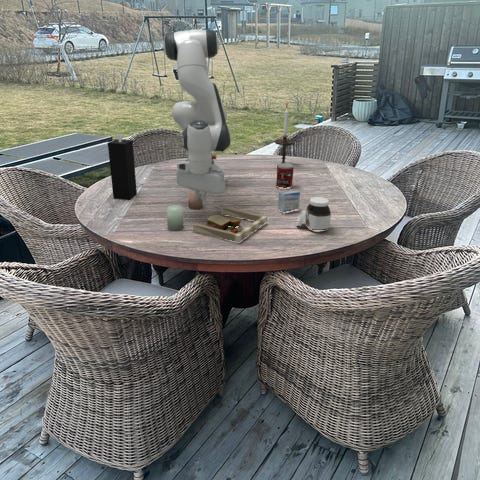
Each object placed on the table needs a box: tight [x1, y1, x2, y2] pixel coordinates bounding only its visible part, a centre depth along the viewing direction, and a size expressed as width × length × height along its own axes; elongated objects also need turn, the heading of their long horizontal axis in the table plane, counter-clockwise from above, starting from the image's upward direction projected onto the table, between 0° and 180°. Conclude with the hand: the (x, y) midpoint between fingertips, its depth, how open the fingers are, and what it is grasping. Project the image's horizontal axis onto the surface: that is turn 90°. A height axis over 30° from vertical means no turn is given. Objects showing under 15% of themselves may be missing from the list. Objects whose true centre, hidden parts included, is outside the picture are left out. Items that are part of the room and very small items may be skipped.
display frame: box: [192, 206, 268, 242], centre depth 169 cm, size 22×20×3 cm
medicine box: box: [277, 189, 301, 212], centre depth 185 cm, size 8×4×9 cm, turn 117°
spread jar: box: [296, 196, 332, 231], centre depth 168 cm, size 12×11×12 cm
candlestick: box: [274, 103, 296, 163], centre depth 243 cm, size 11×11×35 cm
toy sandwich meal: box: [205, 214, 243, 234], centre depth 166 cm, size 12×14×5 cm
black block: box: [107, 133, 138, 201], centre depth 193 cm, size 8×8×28 cm
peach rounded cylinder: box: [188, 189, 204, 211], centre depth 187 cm, size 6×6×7 cm
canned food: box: [275, 162, 294, 188], centre depth 214 cm, size 8×8×11 cm
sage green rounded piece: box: [166, 204, 185, 232], centre depth 167 cm, size 6×6×8 cm
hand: (201, 200), depth 173 cm, fingers closed
